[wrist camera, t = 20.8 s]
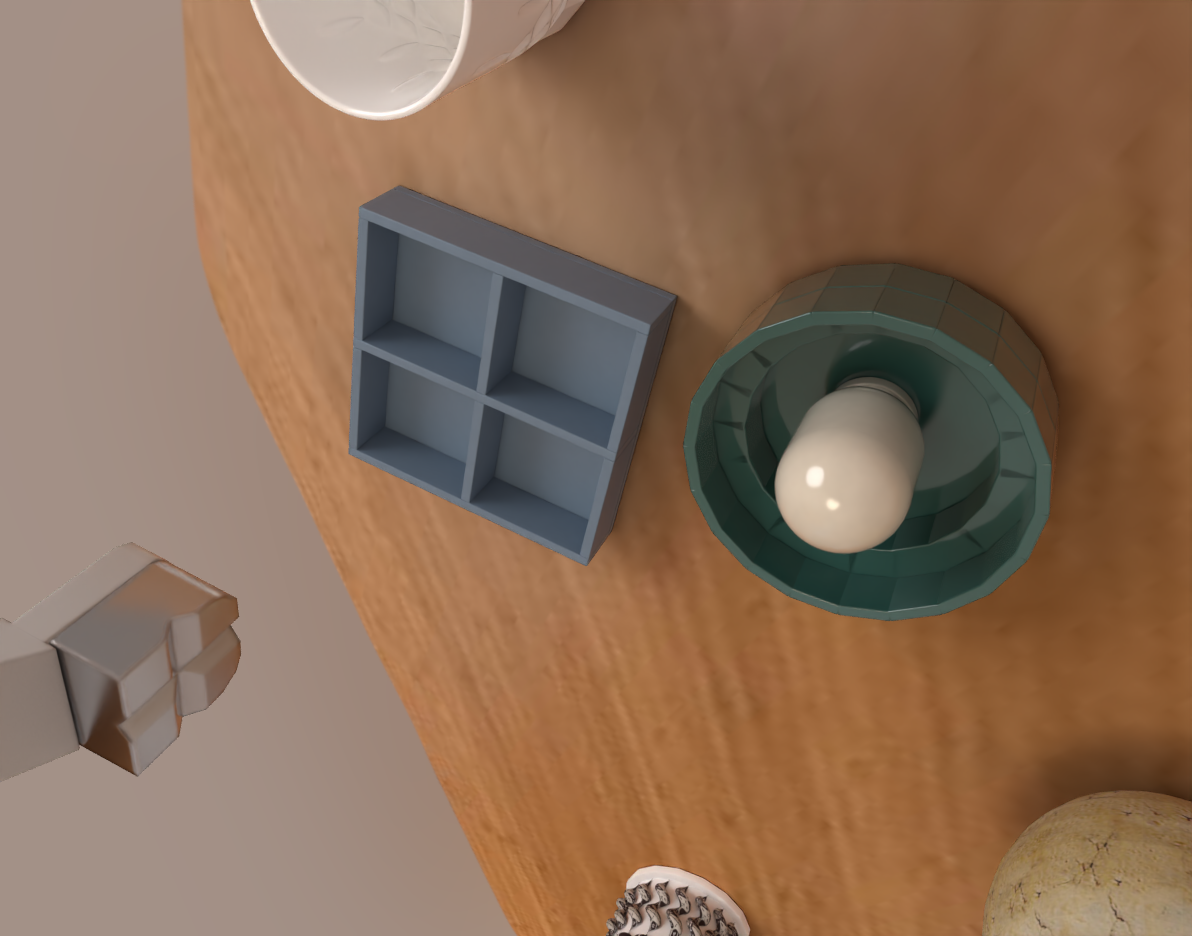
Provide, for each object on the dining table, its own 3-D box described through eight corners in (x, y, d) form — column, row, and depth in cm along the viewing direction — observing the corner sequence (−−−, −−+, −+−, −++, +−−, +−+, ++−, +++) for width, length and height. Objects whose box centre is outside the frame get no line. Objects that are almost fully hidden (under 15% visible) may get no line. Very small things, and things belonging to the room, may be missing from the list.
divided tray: (398, 184, 43) (358, 206, 41) (677, 295, 40) (651, 325, 38) (382, 425, 52) (347, 454, 49) (611, 531, 49) (586, 567, 46)
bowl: (705, 264, 39) (660, 314, 35) (1066, 250, 33) (1058, 308, 29) (743, 532, 45) (708, 599, 42) (1052, 560, 40) (1044, 640, 36)
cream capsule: (806, 361, 39) (750, 459, 33) (933, 362, 37) (897, 467, 31) (816, 465, 41) (765, 573, 35) (936, 472, 39) (902, 588, 33)
